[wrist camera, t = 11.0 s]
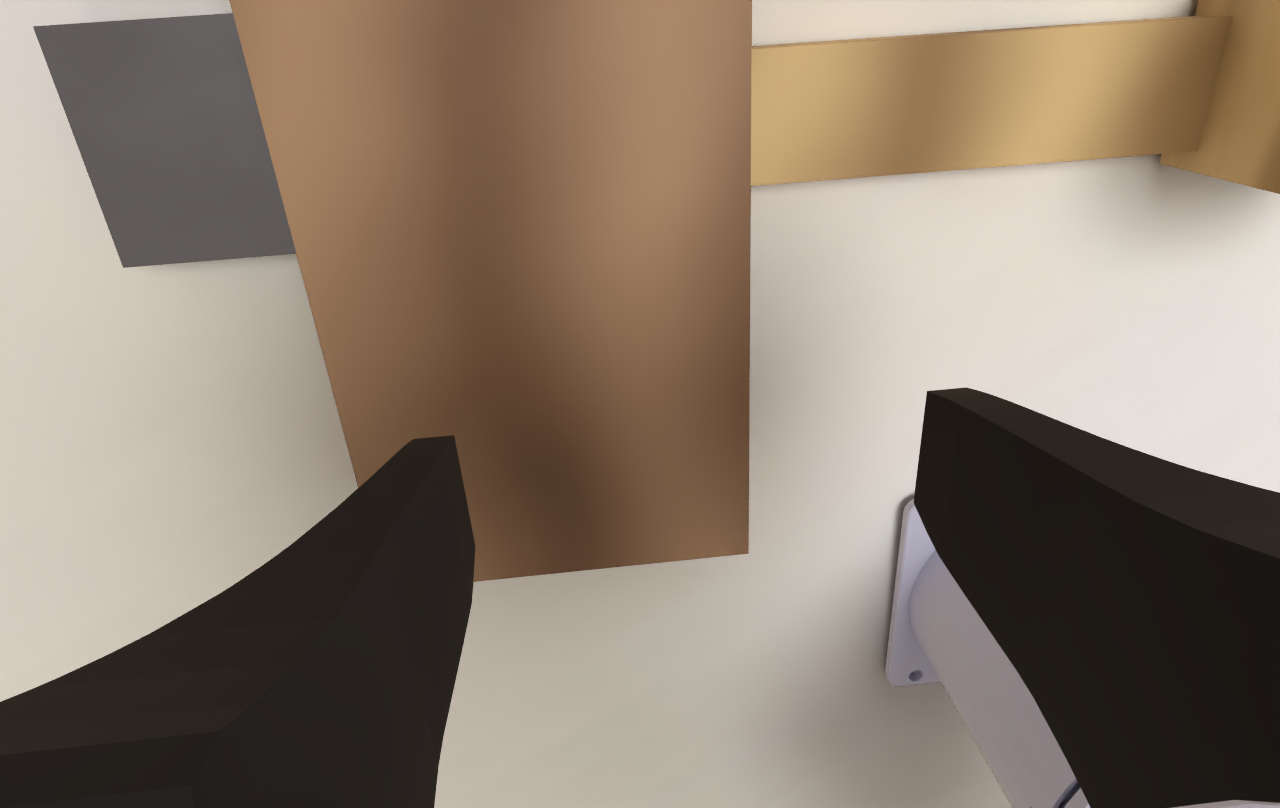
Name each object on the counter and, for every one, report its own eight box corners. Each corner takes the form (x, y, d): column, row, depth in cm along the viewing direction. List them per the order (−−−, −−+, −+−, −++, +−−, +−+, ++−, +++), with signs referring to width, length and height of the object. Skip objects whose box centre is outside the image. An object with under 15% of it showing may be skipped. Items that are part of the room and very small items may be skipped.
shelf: (702, -460, 14) (755, -642, 10) (717, 461, 24) (748, 553, 20) (207, -443, 14) (63, -627, 10) (416, 490, 23) (385, 590, 19)
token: (314, 10, 18) (286, 9, 16) (363, 228, 20) (343, 249, 18) (87, 24, 17) (32, 26, 16) (162, 244, 20) (123, 267, 18)
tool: (1357, -18, 19) (1745, -33, 13) (1303, 152, 21) (1619, 211, 15) (665, 28, 18) (719, 37, 12) (672, 201, 20) (722, 287, 14)
